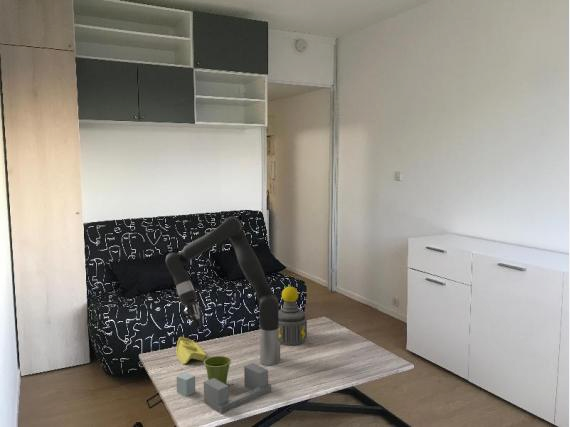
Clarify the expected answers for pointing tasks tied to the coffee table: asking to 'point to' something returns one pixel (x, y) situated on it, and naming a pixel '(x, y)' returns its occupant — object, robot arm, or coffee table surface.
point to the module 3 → (255, 376)
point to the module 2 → (215, 393)
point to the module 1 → (185, 384)
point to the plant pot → (217, 367)
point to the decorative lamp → (291, 319)
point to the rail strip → (244, 398)
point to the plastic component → (189, 350)
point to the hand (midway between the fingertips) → (199, 327)
